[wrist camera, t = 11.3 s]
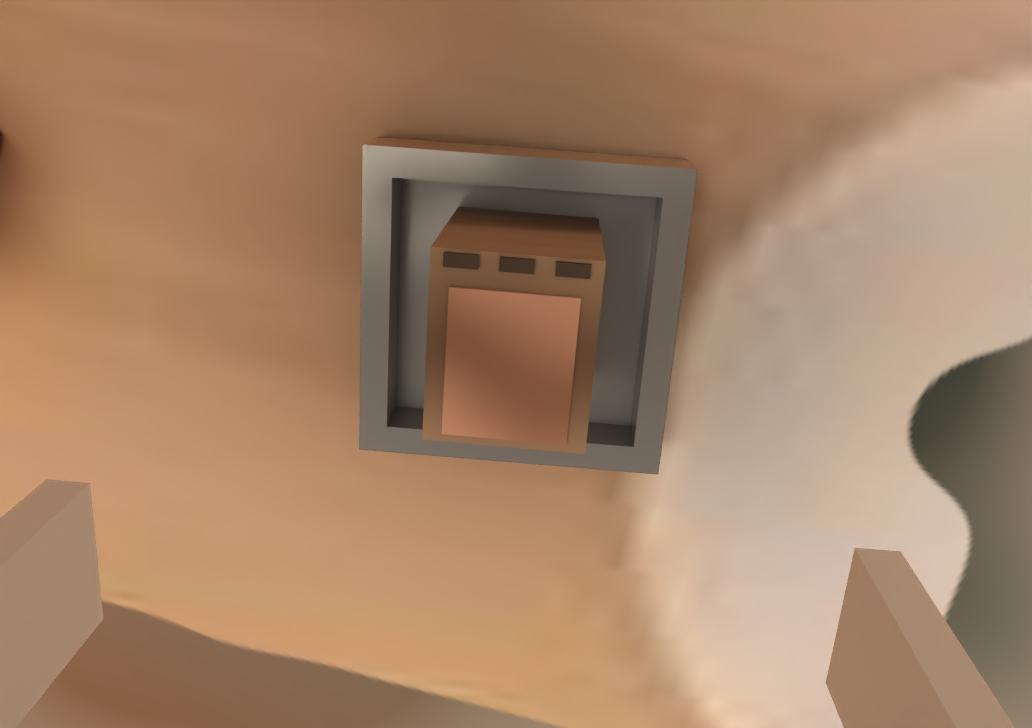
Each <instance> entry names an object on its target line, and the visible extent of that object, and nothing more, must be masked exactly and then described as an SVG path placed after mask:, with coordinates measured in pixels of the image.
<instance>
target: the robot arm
mask: <svg viewBox="0 0 1032 728" xmlns="http://www.w3.org/2000/svg"><path fill="white" fill-rule="evenodd" d="M102 619H103V610H102V600H101V590H100V580H99V570H98V559H97V549H96V539H95V529H94V519H93V509H92V499H91V489H90V483H81V482H69V481H58V480H45V481H44V482H43V483H42V484H41V485H39V486H38V487H37V488H36V489H35V490H33V491H32V492H31V493H30V494H29V495H28V496H26V497H25V498H24V499H23V500H22V501H20V502H19V503H18V504H17V505H16V506H15V507H13V508H12V509H11V510H10V511H9V512H7V513H6V514H5V515H4V516H3V517H2V518H0V728H16V727H17V726H18V724H19V723H20V722H21V721H22V719H23V718H24V717H25V716H26V714H27V713H28V712H29V710H30V709H31V708H32V707H33V706H34V704H35V703H36V702H37V700H39V698H40V697H41V696H42V695H43V693H44V692H45V691H46V690H47V688H48V687H49V686H50V685H51V683H52V682H53V681H54V680H55V678H56V677H57V676H58V675H59V673H60V672H61V671H62V669H63V668H64V667H65V666H66V664H67V663H68V662H69V661H70V660H71V658H72V657H73V656H74V654H75V653H76V652H77V651H78V650H79V648H80V647H81V646H82V645H83V643H84V642H85V641H86V640H87V638H88V637H89V636H90V635H91V633H92V632H93V631H94V630H95V628H96V627H97V626H98V625H99V623H100V622H101V621H102ZM826 684H827V687H828V689H829V692H830V694H831V697H832V699H833V702H834V704H835V707H836V709H837V712H838V714H839V717H840V719H841V722H842V724H843V727H844V728H1014V726H1013V725H1012V723H1011V722H1010V720H1009V719H1008V717H1007V715H1006V714H1005V712H1004V711H1003V709H1002V708H1001V706H1000V705H999V703H998V702H997V700H996V699H995V697H994V695H993V694H992V693H991V691H990V689H989V688H988V686H987V684H986V683H985V681H984V680H983V678H982V677H981V675H980V674H979V672H978V671H977V669H976V668H975V666H974V665H973V663H972V661H971V660H970V658H969V657H968V655H967V654H966V652H965V650H964V649H963V647H962V646H961V645H960V643H959V641H958V640H957V638H956V637H955V635H954V634H953V632H952V631H951V629H950V628H949V626H948V624H947V623H946V621H945V620H944V618H943V616H942V615H941V613H940V612H939V610H938V609H937V607H936V606H935V604H934V603H933V601H932V599H931V598H930V596H929V595H928V593H927V592H926V590H925V589H924V587H923V586H922V584H921V582H920V581H919V579H918V578H917V576H916V575H915V573H914V572H913V570H912V569H911V567H910V565H909V564H908V562H907V561H906V559H905V558H904V556H903V555H902V553H901V552H898V551H886V550H874V549H862V548H855V550H854V554H853V559H852V564H851V568H850V573H849V577H848V582H847V587H846V591H845V596H844V601H843V605H842V610H841V615H840V619H839V624H838V629H837V633H836V638H835V643H834V647H833V652H832V656H831V661H830V666H829V670H828V675H827V680H826Z"/></svg>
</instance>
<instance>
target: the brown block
mask: <svg viewBox="0 0 1032 728" xmlns="http://www.w3.org/2000/svg"><path fill="white" fill-rule="evenodd" d="M605 265H606V259H605V254H604V248H603V242H602V236H601V230H600V224H599V218H590V217H578V216H566V215H554V214H542V213H530V212H518V211H506V210H494V209H482V208H470V207H458V208H457V209H456V211H455V212H454V214H453V215H452V217H451V218H450V220H449V221H448V222H447V224H446V225H445V227H444V228H443V230H442V231H441V233H440V234H439V235H438V237H437V238H436V240H435V241H434V243H433V244H432V246H431V250H430V273H429V296H428V319H427V342H426V364H425V387H424V410H423V433H422V439H423V440H434V441H445V442H456V443H467V444H478V445H489V446H501V447H512V448H523V449H534V450H545V451H556V452H567V453H578V454H585V451H586V441H587V432H588V423H589V414H590V404H591V395H592V386H593V376H594V367H595V358H596V348H597V339H598V330H599V321H600V311H601V302H602V293H603V283H604V274H605Z"/></svg>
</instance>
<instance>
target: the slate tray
mask: <svg viewBox="0 0 1032 728" xmlns="http://www.w3.org/2000/svg"><path fill="white" fill-rule="evenodd" d="M696 176H697V169H696V168H695V167H694V166H693V165H692V164H691V163H690V162H689V161H688V160H687V159H673V158H660V157H646V156H632V155H619V154H605V153H591V152H578V151H564V150H551V149H537V148H523V147H510V146H496V145H482V144H469V143H455V142H441V141H428V140H414V139H400V138H387V137H378V138H376V139H374V140H372V141H370V142H368V143H365V144H363V166H362V253H361V341H360V428H359V449H360V450H372V451H384V452H396V453H408V454H420V455H431V456H443V457H455V458H467V459H479V460H491V461H503V462H515V463H527V464H539V465H551V466H563V467H575V468H587V469H599V470H611V471H623V472H635V473H647V474H658V472H659V464H660V456H661V449H662V441H663V433H664V425H665V418H666V410H667V402H668V394H669V386H670V379H671V371H672V363H673V355H674V348H675V340H676V332H677V324H678V316H679V309H680V301H681V293H682V285H683V278H684V270H685V262H686V254H687V246H688V239H689V231H690V223H691V215H692V208H693V200H694V192H695V184H696ZM458 207H470V208H482V209H494V210H506V211H518V212H530V213H542V214H554V215H566V216H578V217H590V218H599V224H600V230H601V236H602V242H603V248H604V254H605V259H606V265H605V274H604V283H603V293H602V302H601V311H600V321H599V330H598V339H597V348H596V358H595V367H594V376H593V386H592V395H591V404H590V414H589V423H588V432H587V441H586V451H585V454H578V453H567V452H556V451H545V450H534V449H523V448H512V447H501V446H489V445H478V444H467V443H456V442H445V441H434V440H423V439H422V433H423V410H424V387H425V364H426V342H427V319H428V296H429V273H430V250H431V246H432V244H433V243H434V241H435V240H436V238H437V237H438V235H439V234H440V233H441V231H442V230H443V228H444V227H445V225H446V224H447V222H448V221H449V220H450V218H451V217H452V215H453V214H454V212H455V211H456V209H457V208H458Z"/></svg>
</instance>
